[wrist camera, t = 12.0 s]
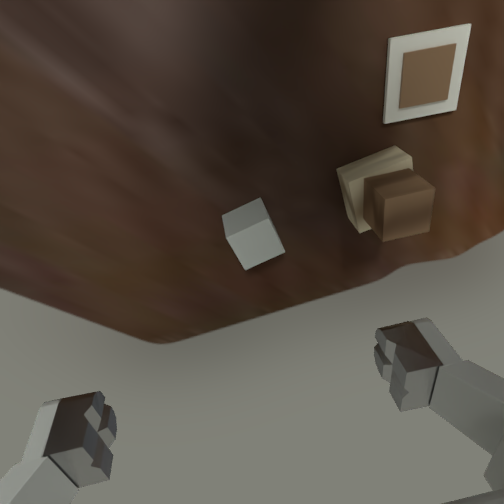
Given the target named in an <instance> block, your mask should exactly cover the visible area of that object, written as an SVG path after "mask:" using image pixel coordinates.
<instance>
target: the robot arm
mask: <svg viewBox="0 0 504 504" xmlns="http://www.w3.org/2000/svg"><path fill="white" fill-rule="evenodd" d="M375 338H376V340H377V342H378V344H377V345H376V346H375V347H374V357H375V362H376V365H377V368H378V371H379V373H380V375H381V377H382V378H383V379H385V380H386V381H388V382H389V383H390V390H389V391H390V394H391V395H392V397H393V399H394V401H395V403H396V405H397V407H398V408H399V410H400V412H402V411H407V410H412V409H417V408H422V407H427V406H429V408H430V409H432V410H433V411H434V412H436V413H437V414H438V415H440V416H441V417H442V418H444V419H445V420H446V421H447V422H449V423H450V424H451V425H453V426H454V427H455V428H457V429H458V430H459V431H461V432H462V433H463V434H465V435H466V436H467V437H469V438H470V439H471V440H473V441H474V442H475V443H476V444H478V445H479V446H481V447H482V448H483V449H485V450H486V451H487V452H489V453H490V454H491V455H492V458H491V460H490V462H489V464H488V466H487V468H486V470H485V474H484V477H485V479H486V480H487V482H488V483H489V485H490V487H491V488H492V490H493V491H491V492H487V493H483V494H479V495H475V496H471V497H467V498H463V499H459V500H455V501H451V502H447V503H442V504H504V378H502V377H500V376H498V375H496V374H494V373H492V372H490V371H488V370H486V369H484V368H483V367H481V366H479V365H477V364H475V363H473V362H471V361H469V360H466V361H463V360H462V359H461V358H460V356H459V355H458V354H457V353H456V351H455V350H454V349H453V347H452V346H451V345H450V344H449V342H448V341H447V340H446V339H445V337H444V336H443V335H442V334H441V332H440V331H439V330H438V328H437V327H436V326H435V325H434V323H433V322H432V321H431V320H430V319H429V318H423V319H418V320H414V321H410V322H409V321H407V322H403V323H399V324H395V325H391V326H386V327H382V328H378V329H377V330H376V333H375ZM104 401H105V397H104V395H103V394H102V392H101V391H97V392H92V393H87V394H82V395H77V396H72V397H67V398H62V399H57V400H52V401H48V402H44V403H43V404H42V406H41V407H40V409H39V411H38V414H37V417H36V420H35V423H34V426H33V428H32V431H31V434H30V437H29V440H28V443H27V446H26V449H25V452H24V454H23V457H22V460H21V462H20V463H16V464H15V465H14V466H13V467H12V468H11V469H10V470H9V471H8V472H7V474H6V475H5V476H4V477H3V478H2V479H1V480H0V504H71V502H72V500H73V499H74V497H75V496H76V494H77V492H78V491H79V489H78V488H80V487H84V486H88V485H91V484H96V483H99V482H103V481H107V480H109V479H110V473H111V466H112V460H113V454H112V453H111V451H110V449H109V448H110V446H111V445H112V443H113V442H114V440H115V439H116V432H117V424H116V416H115V413H114V411H113V409H112V407H111V406H109V405H106V404H104Z"/></svg>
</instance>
